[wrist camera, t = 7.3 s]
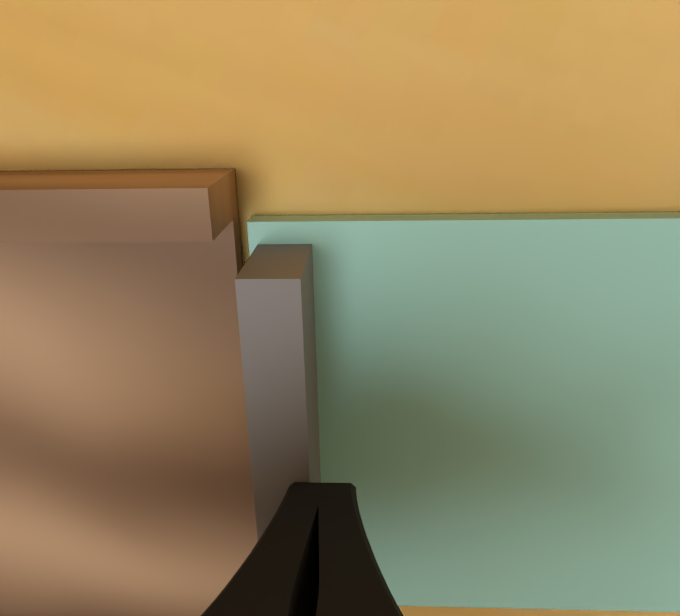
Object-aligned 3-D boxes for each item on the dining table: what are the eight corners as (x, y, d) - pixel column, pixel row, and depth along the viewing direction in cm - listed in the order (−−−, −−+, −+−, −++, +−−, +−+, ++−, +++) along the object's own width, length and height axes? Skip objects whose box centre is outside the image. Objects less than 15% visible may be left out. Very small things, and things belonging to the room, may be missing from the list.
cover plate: (723, 579, 17) (808, 699, 14) (281, 570, 18) (262, 683, 15) (830, 205, 13) (985, 248, 10) (256, 210, 14) (221, 252, 11)
